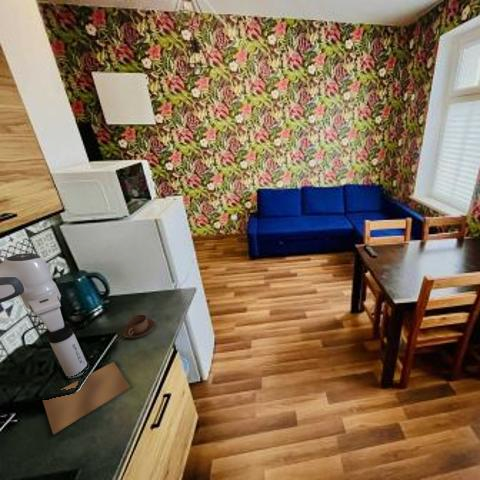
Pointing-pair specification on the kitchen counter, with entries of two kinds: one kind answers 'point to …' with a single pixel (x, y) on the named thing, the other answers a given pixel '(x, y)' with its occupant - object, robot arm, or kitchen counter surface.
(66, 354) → the travel mug
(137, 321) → the cup and saucer
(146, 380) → the kitchen counter surface
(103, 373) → the cork mat
